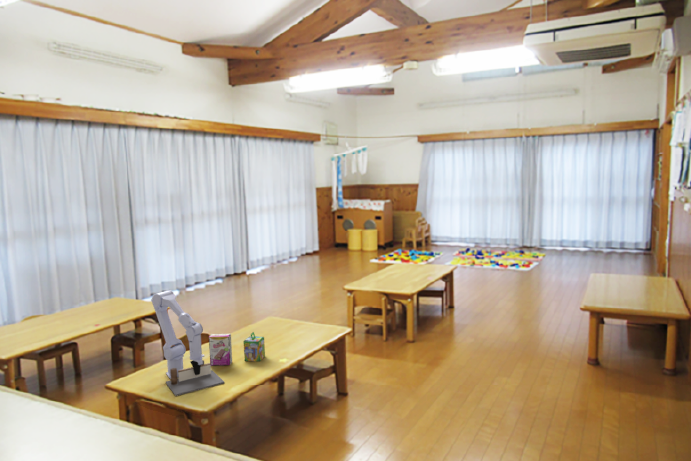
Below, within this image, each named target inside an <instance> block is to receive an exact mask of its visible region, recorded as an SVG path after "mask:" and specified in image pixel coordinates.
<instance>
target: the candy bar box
mask: <svg viewBox="0 0 691 461" xmlns="http://www.w3.org/2000/svg"><path fill="white" fill-rule="evenodd" d="M208 345H209V350H208V351H209V363H210V366H211V367H212V366H215V367H216V366H231V365H232V363H233V352H232V350H233V349H232V334H231V333H210V335H209V336H208Z"/></svg>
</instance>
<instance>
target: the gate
mask: <svg viewBox="0 0 691 461" xmlns="http://www.w3.org/2000/svg"><path fill="white" fill-rule="evenodd" d="M211 370H212V366H210V362H208V363H207V362H206V363H204V364H203V365H201V367H200V374H199V375H195V374H194V370H193V366H191V367H187V368H183V370H178V377H177V378H179V382H180V381H184V380H188V379H192V378H195V377H199V376H203V375H207V374H211Z"/></svg>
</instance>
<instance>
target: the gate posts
mask: <svg viewBox="0 0 691 461" xmlns="http://www.w3.org/2000/svg"><path fill="white" fill-rule="evenodd" d="M202 360H203V359H202ZM203 364H205V360H203ZM203 364H201V365H203ZM170 373H171V379H170V380H171V384H172V385H175V384H177V383H178V377H177V368H172V369H170Z"/></svg>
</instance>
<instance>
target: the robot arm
mask: <svg viewBox="0 0 691 461" xmlns="http://www.w3.org/2000/svg"><path fill="white" fill-rule="evenodd" d="M150 300H151V304H152V306H153V310H154V311H155V315H156V317H157V318H156V319H157V320H158V323H159V326H160V329H161V332H162V335H163V337H164V341H165V344H164V345H163V346H162V349H163V357H164V358H165V359H166V362H167V365H166V366H167V372H166V373H165V374H166V375H167V377H168V378H169V379H170V380H171V373H170V369H172V368H177V378H179V377H178V370H183V369H184V357H185V356H184V355H185V354H186V352H187V351H186V346H185V345H184V343H183V342H182V340H181V339H179V338H177V336H176V333H175V330H174V328H173V324H172V322H171V319H170V315H169V313H168V308H169V309H170V310H171V311H172V312H174V313H175V315H176V316H177V317H178V319H177V320H178V322H179V323H180V324H181V325H182V327H183V329H185V335H186V336H187V340H188V345H189V347H188V348H189V360H190V361H189V362H190V364H191V367H193V370H194V374H195V375H199V374H200V367H201V364H203V358H204V357H205V354H204V353H203V352H202V351H203V349H202V335H201V334H202V333H203V331H204V327H203V326H202V324H201V323H199V322H197V321H195V320H194V318H193V317H192V316H191V315H190V314H189V312H185V311H184V310H183V308H182V307H181V305H180V304H179V302H178V301H177V300H176V295H175V293H174V291H173V290H171V289H168V290H165V291H160V292H158V293H154V294H153V295H152V297H151V299H150Z"/></svg>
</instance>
